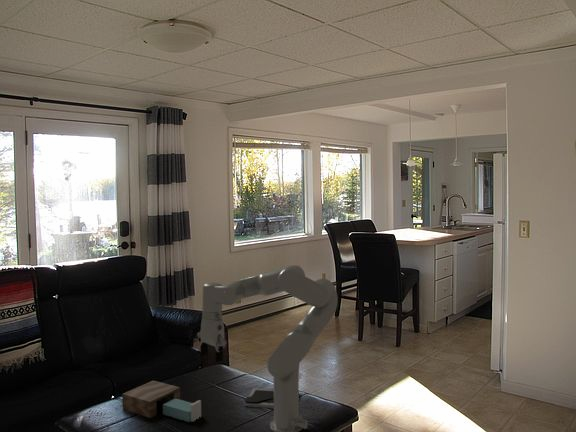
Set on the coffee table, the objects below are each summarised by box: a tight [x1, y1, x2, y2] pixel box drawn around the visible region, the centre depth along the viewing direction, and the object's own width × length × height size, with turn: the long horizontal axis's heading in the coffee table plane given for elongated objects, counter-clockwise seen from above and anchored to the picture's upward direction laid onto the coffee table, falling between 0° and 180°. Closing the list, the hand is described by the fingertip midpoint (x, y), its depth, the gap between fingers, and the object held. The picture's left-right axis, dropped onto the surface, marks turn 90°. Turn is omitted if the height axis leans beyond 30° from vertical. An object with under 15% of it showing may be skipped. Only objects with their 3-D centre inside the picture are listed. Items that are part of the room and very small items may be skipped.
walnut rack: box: [121, 380, 181, 419], centre depth 205 cm, size 16×17×6 cm
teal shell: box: [162, 398, 202, 423], centre depth 196 cm, size 15×7×6 cm, turn 59°
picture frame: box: [243, 388, 274, 409], centre depth 210 cm, size 16×3×21 cm
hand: (211, 358), depth 191 cm, fingers open, 9 cm apart
